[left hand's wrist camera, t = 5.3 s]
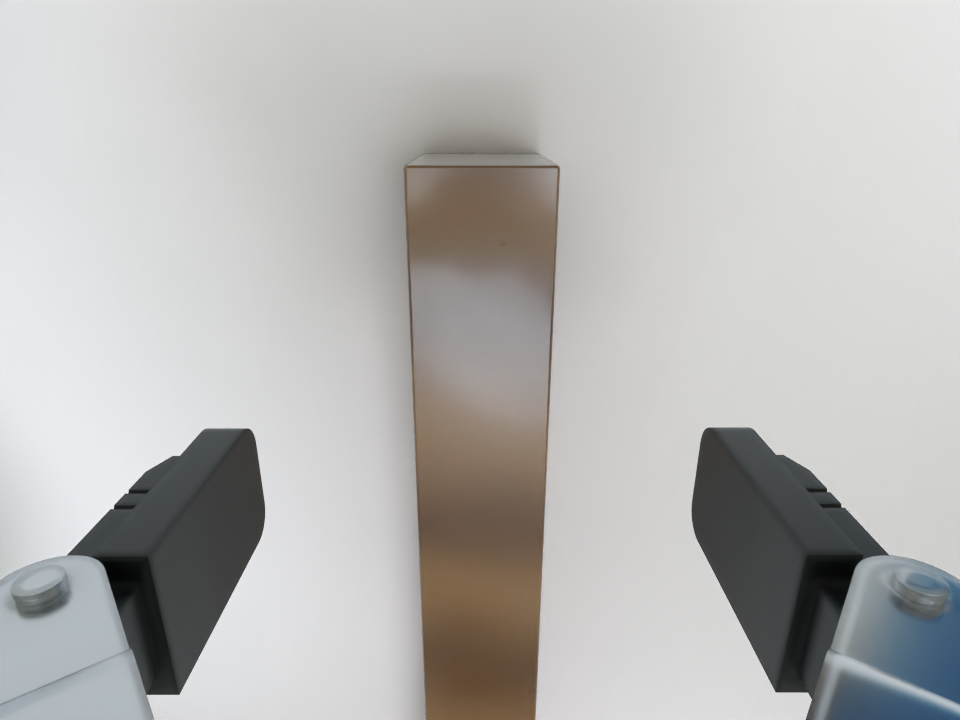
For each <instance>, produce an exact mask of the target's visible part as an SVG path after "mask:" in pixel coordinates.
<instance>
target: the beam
mask: <svg viewBox="0 0 960 720" xmlns="http://www.w3.org/2000/svg"><path fill="white" fill-rule="evenodd" d="M559 178H560V167H559V166H558V165H556V164H555V163H553V162H551V161H550V160H548V159H547V158H545V157H543V156H542V155H540V154H423V155H421V156H420V157H418V158H417V159H415V160H413V161H412V162H410V163H409V164H407V165H405V166H404V186H405V210H406V235H407V260H408V285H409V310H410V335H411V360H412V385H413V409H414V434H415V459H416V484H417V509H418V534H419V559H420V584H421V608H422V633H423V658H424V683H425V708H426V720H535V717H536V695H537V672H538V650H539V627H540V605H541V582H542V560H543V537H544V515H545V492H546V470H547V447H548V425H549V402H550V380H551V358H552V335H553V313H554V290H555V268H556V245H557V223H558V200H559Z"/></svg>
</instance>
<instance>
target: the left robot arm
mask: <svg viewBox="0 0 960 720" xmlns="http://www.w3.org/2000/svg"><path fill="white" fill-rule="evenodd" d="M264 521H265V503H264V496H263V489H262V482H261V475H260V468H259V461H258V454H257V447H256V441H255V437H254V434H253V432H252V431H251V430H250V429H205V430H203V431H202V432H201V433H200V434H199V435H198V436H197V438H196V439H195V440H194V441H193V442H192V443H191V444H190V445H189V447H188V448H187V449H186V450H185V451H184V452H183V453H182V454H181V456H172V457H170V458H169V459H167V460H165V461H164V462H162V463H160V464H159V465H157V466H155V467H153V468H152V469H150V470H148V471H147V472H145V473H144V474H143V476H142V477H141V478H140V479H139V480H138V481H137V482H136V483H135V484H134V485H133V486H132V487H131V488H130V489H129V493H128V494H125V495H124V496H123V497H122V498H121V499H120V500H119V501H118V502H117V503H116V504H115V505H114V509H110V510H109V512H108V513H107V514H106V515H105V516H104V517H103V518H102V519H101V520H100V521H99V522H98V523H97V524H96V525H95V526H94V527H93V528H92V530H91V531H90V532H89V533H88V534H87V535H86V536H85V537H84V538H83V539H82V540H81V541H80V542H79V543H78V544H77V545H76V546H75V548H74V549H73V550H72V551H71V552H70V553H69V554H68V555H67V556H61V557H55V558H51V559H46V560H43V561H40V562H36V563H34V564H31V565H28V566H26V567H24V568H22V569H19V570H17V571H15V572H13V573H12V574H10V575H8V576H6V577H5V578H3V579H2V580H0V720H154V718H153V714H152V711H151V708H150V705H149V702H148V698H147V695H179V694H180V692H181V690H182V688H183V687H184V685H185V683H186V681H187V679H188V677H189V675H190V673H191V671H192V669H193V667H194V665H195V664H196V662H197V660H198V658H199V656H200V654H201V652H202V650H203V648H204V646H205V644H206V642H207V641H208V639H209V637H210V635H211V633H212V631H213V629H214V627H215V625H216V623H217V621H218V619H219V618H220V616H221V614H222V612H223V610H224V608H225V606H226V604H227V602H228V600H229V598H230V596H231V595H232V593H233V591H234V589H235V587H236V585H237V583H238V581H239V579H240V577H241V575H242V573H243V572H244V570H245V568H246V566H247V564H248V562H249V560H250V558H251V556H252V554H253V552H254V550H255V549H256V547H257V545H258V543H259V541H260V538H261V536H262V532H263V528H264ZM692 522H693V528H694V532H695V535H696V538H697V540H698V542H699V544H700V546H701V548H702V550H703V552H704V554H705V556H706V558H707V560H708V562H709V564H710V565H711V567H712V569H713V571H714V573H715V575H716V577H717V579H718V581H719V583H720V585H721V587H722V589H723V591H724V593H725V595H726V597H727V598H728V600H729V602H730V604H731V606H732V608H733V610H734V612H735V614H736V616H737V618H738V620H739V622H740V624H741V626H742V628H743V630H744V631H745V633H746V635H747V637H748V639H749V641H750V643H751V645H752V647H753V649H754V651H755V653H756V655H757V657H758V659H759V661H760V663H761V664H762V666H763V668H764V670H765V672H766V674H767V676H768V678H769V680H770V682H771V684H772V686H773V688H774V690H775V692H808V693H809V695H810V697H811V698H812V702H811V705H810V708H809V711H808V714H807V718H806V720H960V580H958V579H957V578H955V577H954V576H952V575H950V574H948V573H947V572H945V571H943V570H941V569H938V568H936V567H934V566H932V565H929V564H926V563H924V562H920V561H917V560H914V559H909V558H905V557H899V556H889V555H888V554H887V553H886V551H885V550H884V549H883V548H882V547H881V546H880V545H879V544H878V543H877V542H876V541H875V540H874V539H873V538H872V536H871V535H870V534H869V533H868V532H867V531H866V530H865V529H864V528H863V527H862V526H861V525H860V524H859V523H858V522H857V520H856V519H855V518H854V517H853V516H852V515H851V514H850V513H849V512H848V511H847V510H846V509H845V508H841V503H840V502H839V501H838V500H837V499H836V498H835V497H834V496H833V495H832V494H831V493H830V492H827V488H826V487H825V486H824V485H823V484H822V483H821V482H820V481H819V480H818V479H817V478H816V477H815V476H814V475H813V473H812V472H811V471H810V470H808V469H806V468H805V467H803V466H801V465H799V464H798V463H796V462H794V461H793V460H791V459H789V458H788V457H786V456H784V455H775V453H774V452H773V451H772V450H771V449H770V448H769V447H768V445H767V444H766V443H765V442H764V441H763V440H762V439H761V437H760V436H759V435H758V434H757V433H756V432H755V431H754V430H753V429H752V428H707V429H705V431H704V432H703V435H702V438H701V443H700V450H699V457H698V464H697V472H696V479H695V486H694V493H693V500H692Z"/></svg>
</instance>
